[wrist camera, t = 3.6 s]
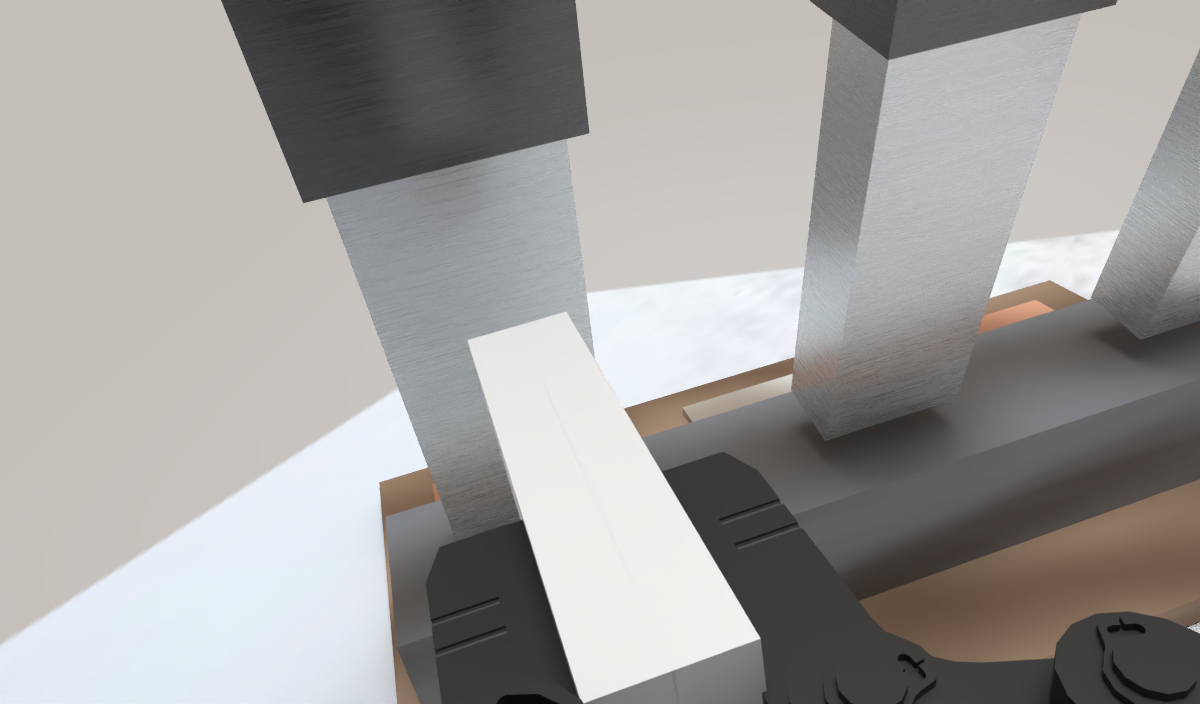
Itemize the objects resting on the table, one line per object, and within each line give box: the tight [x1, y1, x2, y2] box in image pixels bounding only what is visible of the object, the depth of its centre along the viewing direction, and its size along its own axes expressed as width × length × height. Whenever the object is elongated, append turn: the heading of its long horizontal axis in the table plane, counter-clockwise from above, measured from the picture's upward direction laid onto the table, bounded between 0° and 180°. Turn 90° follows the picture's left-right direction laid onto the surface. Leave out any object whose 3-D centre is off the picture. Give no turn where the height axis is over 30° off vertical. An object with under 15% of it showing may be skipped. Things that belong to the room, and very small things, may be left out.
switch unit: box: [379, 280, 1200, 704], centre depth 27 cm, size 16×30×5 cm, turn 106°
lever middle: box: [791, 0, 1117, 441], centre depth 18 cm, size 3×5×14 cm, turn 107°
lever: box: [221, 0, 595, 541], centre depth 17 cm, size 3×5×14 cm, turn 106°
